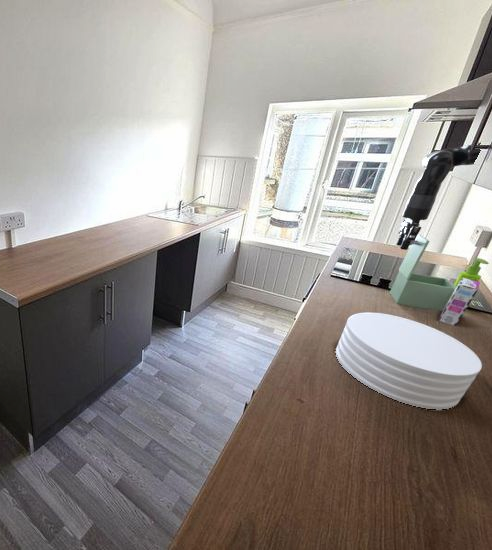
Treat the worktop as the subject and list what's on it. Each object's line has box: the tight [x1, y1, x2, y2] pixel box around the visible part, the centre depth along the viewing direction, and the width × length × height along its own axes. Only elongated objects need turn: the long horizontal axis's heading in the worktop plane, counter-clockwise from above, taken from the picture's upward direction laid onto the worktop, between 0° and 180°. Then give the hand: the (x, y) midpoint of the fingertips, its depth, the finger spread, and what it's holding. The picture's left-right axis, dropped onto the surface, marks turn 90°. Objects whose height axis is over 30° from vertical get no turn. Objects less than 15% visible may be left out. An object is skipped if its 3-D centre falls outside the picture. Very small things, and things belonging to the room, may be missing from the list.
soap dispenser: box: [453, 257, 490, 287], centre depth 123 cm, size 6×7×20 cm
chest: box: [389, 270, 456, 312], centre depth 124 cm, size 16×12×11 cm
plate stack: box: [334, 311, 483, 411], centre depth 84 cm, size 28×28×12 cm
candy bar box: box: [437, 278, 481, 327], centre depth 110 cm, size 11×5×16 cm, turn 130°
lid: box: [398, 233, 430, 280], centre depth 122 cm, size 16×12×5 cm
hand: (401, 247), depth 122 cm, fingers closed on lid, 5 cm apart
